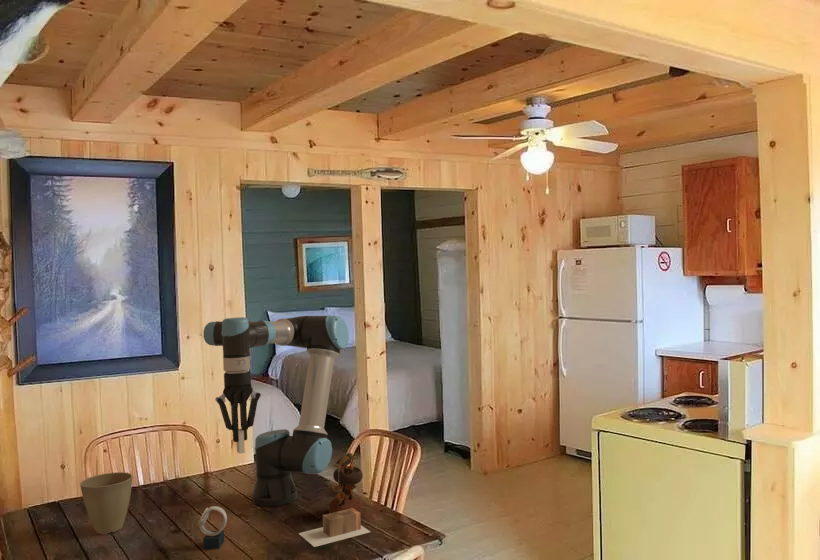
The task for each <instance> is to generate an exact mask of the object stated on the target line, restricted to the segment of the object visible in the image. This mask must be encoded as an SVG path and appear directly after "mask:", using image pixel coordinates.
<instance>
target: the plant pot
mask: <svg viewBox="0 0 820 560" xmlns="http://www.w3.org/2000/svg"><path fill="white" fill-rule="evenodd" d="M79 485H80V491H81V495H82V498H83V503H84V506H85V510H86V513H87V515H88V518H89V520H90V522H91V525H92V526H93V528H94V530H95V533H96V532H98V533H110V532H115V531H117V530H119V529H121V528H123V526H124V523H125V520H126V517H127V513H128V510H129V505H130V500H131V495H132V493H131V492H132V485H133V474H132V473H130V472H124V471H123V472H119V471H118V472H116V471H115V472H109V473H108V472H106V473H100V474H97V475H93V476H90V477H88V478H85V479H83V480H81V481H80V482H79ZM121 530H122V529H121ZM119 531H120V530H119ZM115 533H116V532H115Z"/></svg>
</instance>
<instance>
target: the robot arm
mask: <svg viewBox="0 0 820 560" xmlns="http://www.w3.org/2000/svg"><path fill="white" fill-rule="evenodd" d="M349 334H350V333H349V328H348V326H347V323H346V321H345V320H344V319H343V317H341V316H338V315H330V314H329V315H300V316H299V315H298V316H294V317H286V318H279V319H277V320H274V321H269V320H263V319H262V320H257V321H251V320H250V321H249V319H248V318H247V317H242V316H239V317H229V318H228V317H227V318H224V319H222V321H218V320H216V321H210V322H208V323H206V324H205V327H204V328H203V340H204V342H205V343H206V345H209V346H213V347H214V346H215V347H222V360H223V371H224V373H223V385H224V386H223V387H224V388H223V389H222V390H223V391H222V394H221V395H219V396H217V397H215V401H216V403H217V404H218V405H219V409H220V413H221V416H222V418H223V422H224V425H225V429H227V430H228V431H232V440H233V442H234V443H236V453H238V454H245V453H246V451H245V449H246V448H245V441H247V440H248V430H249V428H251V427H253V426H254V423H255V417H256V411H257V407H258V403H259V402H258V401H259V399H260V398H261V395H262V394H261V393H260V392H258V391H256V390H254V389H253V386H252V378H251V377H252V376H251V374H252V373H251V371H250V369H251V358H250V352H251V351H250V349H251V348H256V347H257V348H258V347H264V346H266V345H269V344H276V345H278V346H280V347H281V346H282V347H293V348H295V347H296V348H301V349H306V353H307V355H309V360H308V367H307V373H306V379H305V385H304V390H303V398H302V402H301V403H302V404H301V408H300V409H301V410H300V414H299V415H300V416H299V421H298V425H297V426H296V427H295V428H294V429H292V430H293V431H292V435H291V434H290V431H289V429H287V428H285V429H283V428H282V429H274V430H271V431H266V432H262V433H259V434H258V435H257V436H256V437H255V440H254V441H255V444H254V445H255V446H254V451H255V453H254V454H255V471H256V472H255V473H256V481H255V483H254V487H253V490H252V494H251V495H252V496H251V498H252V501H251V503H253V504H254V505H256V506H259V507H276V506H277V507H278V506H283V505H286V504H290V503H292V502H294V501H296V499H298V490H297V487H296V484H295V481H294V479H293V477H292V472H294V473H303V474H307V475H310V474H314V475H315V474H321V473H322V472H323V471H325V469H326V468H327V467H328V465H329V464H330V461H331V460H332V459H331V458H332V455H333V447H332V442H331V440H329V439H328V432H327V431H326V430H325V425H326V424H325V423H326V417H327V410H328V405H329V398H330V390H331V385H332V379H333V370H334V364H335V360H336V359H337V358H338V357H340V353H341V350H344V349H346V348H347V345H348V344H349V339H350V335H349ZM250 398H251V400H250V404H249V409H248V412H247V406H248V404H247V403H248V400H249V399H250ZM226 399H227V401H228V402H229V403H230V410H231V411H230V413H231V418H230V414H229V412H228V408H227V406H226V405H227V404H226ZM238 408H239V409H238ZM238 410H239V411H238ZM239 415H240V416H239ZM239 418H240V428H239Z"/></svg>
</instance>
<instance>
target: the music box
mask: <svg viewBox="0 0 820 560" xmlns="http://www.w3.org/2000/svg"><path fill="white" fill-rule="evenodd" d="M353 459H354V454H353V453H351V452H348V453H346V455H344V456H342V457H340V458H339V459H337V461H336V462H335V464H332V467H336V469H335V470H334V471H333V474H332V475H333V477H332V478H333V480H334V481H335V483H337V485H335V487H334V488H335V490H334V491H337V494H336V496H335V497H334V499H332V500H331V501H330V502H329V504H328V505H329V508H328V514H330V513H334V512H338V511H342V510H346V509H350V508H354V509H355V510H357V511H358V512H360V517H361V516H362V514H363V503H362V501H360V499H358V498H355V497H353V491H354V489H356V488H357V486H356V485H357V484H359V483H360V482H361V481H362V479H363V477H364V476H363V470H361V468H359V467H356V466H353V464H351V463H352V462H353ZM340 490H341V491H340ZM339 491H340V492H339Z"/></svg>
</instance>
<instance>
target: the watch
mask: <svg viewBox="0 0 820 560" xmlns="http://www.w3.org/2000/svg"><path fill="white" fill-rule="evenodd" d="M212 511H216V512H218V513H220V514H221V515H222V517H223V521H222V523H221V527H220V528H219V529H218V530H208V529H206V527H205V525H204V524H205V523H206V521H207V520H208V518H209V516H210V515H211V512H212ZM227 523H228V515H227V513H226V510H225V509H223V508H222V507H221V506H218V505H216V506H215V505H213V506H209V508H208V507H206V508H205V510H204V511H203V512H202V514H201V516H200V518H199V520H198V525H199V526H198V527H199V529H200V531H201V533H202V534H204V535H205V536H204V537H203V541H202V542H203V550H219V549H220V548H221V547H222V545H223V544H224V542H225V530H224V529H225V527H226V526H227Z"/></svg>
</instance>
